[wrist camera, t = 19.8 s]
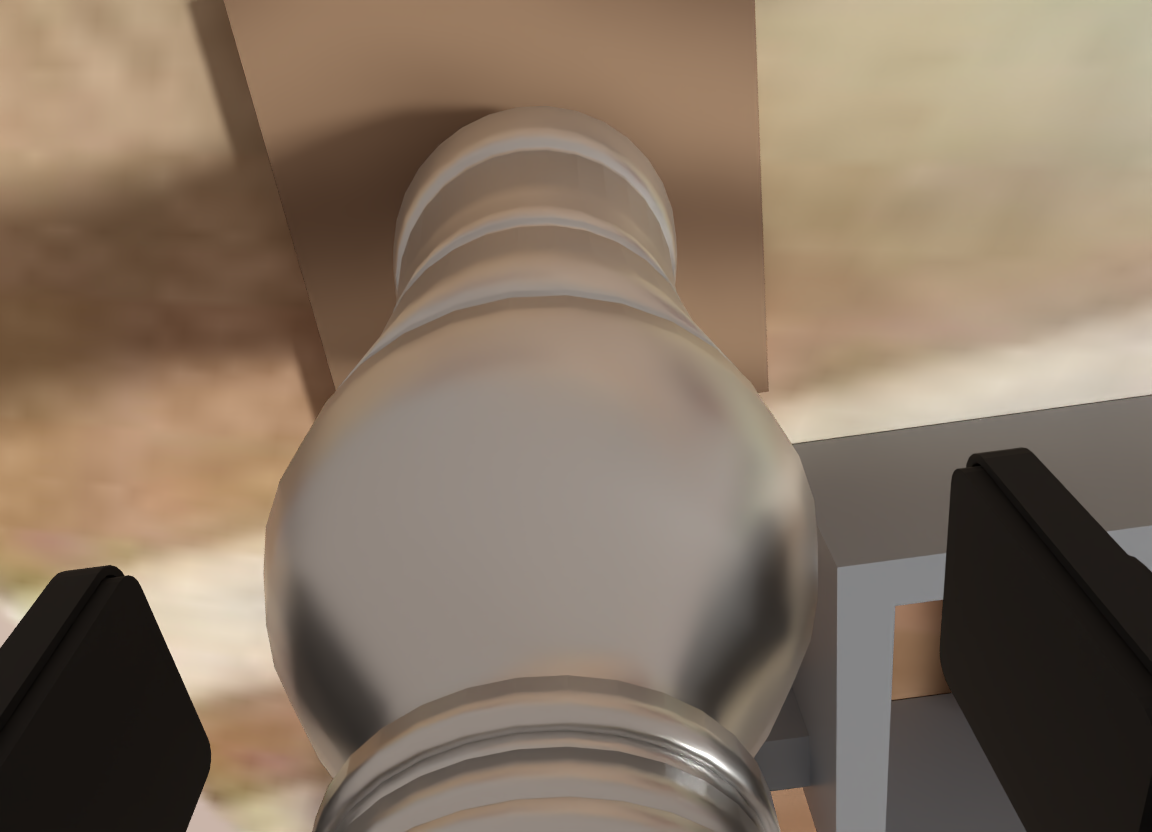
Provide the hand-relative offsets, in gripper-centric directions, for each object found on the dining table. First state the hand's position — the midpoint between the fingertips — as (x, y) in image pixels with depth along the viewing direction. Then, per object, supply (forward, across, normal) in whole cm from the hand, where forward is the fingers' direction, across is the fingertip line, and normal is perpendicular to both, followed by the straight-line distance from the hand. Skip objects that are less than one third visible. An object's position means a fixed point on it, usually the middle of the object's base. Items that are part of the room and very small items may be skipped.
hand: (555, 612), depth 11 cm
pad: (+16, 0, 0) cm, 16 cm away
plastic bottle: (+15, 0, 0) cm, 15 cm away
